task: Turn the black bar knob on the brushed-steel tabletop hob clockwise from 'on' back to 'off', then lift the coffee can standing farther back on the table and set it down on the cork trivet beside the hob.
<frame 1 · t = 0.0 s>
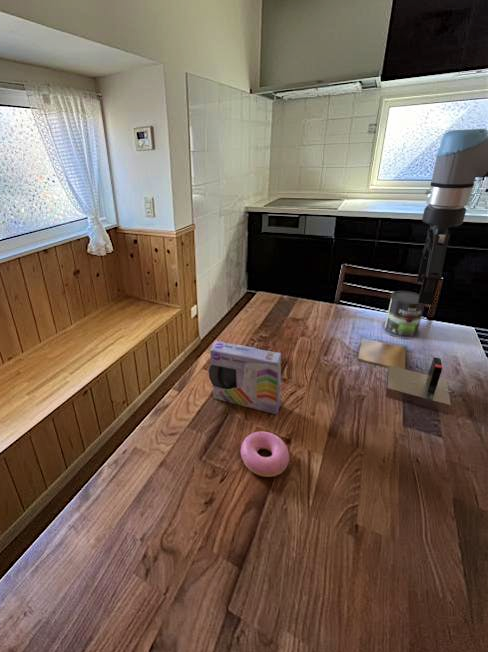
hand: (423, 292, 83), 30 cm above the table, tool pointing down, fingers open, 13 cm apart
doughnut: (264, 459, 78), on the table
trivet: (381, 354, 110), on the table
coffee can: (400, 332, 122), on the table
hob: (415, 392, 94), on the table
cake pan box: (244, 402, 95), on the table
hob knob: (434, 374, 90), point 7 cm above the table, hinge at 90.0°
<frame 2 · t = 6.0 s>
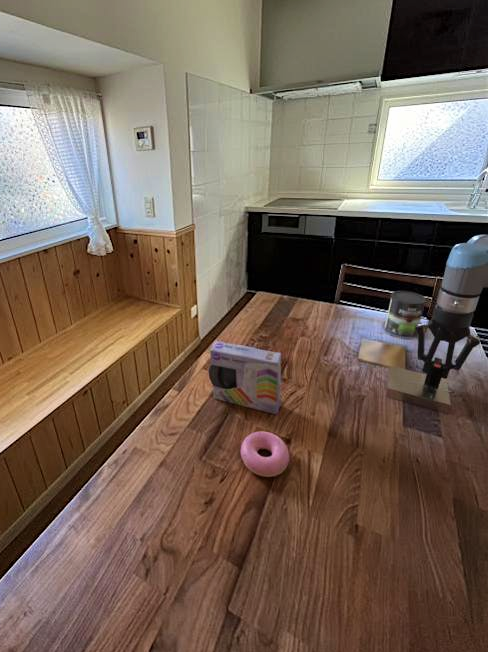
hand: (431, 384, 91), 4 cm above the table, tool pointing down, fingers closed on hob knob, 2 cm apart
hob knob: (434, 374, 90), point 7 cm above the table, hinge at 82.9°, touching gripper
everything else where it was.
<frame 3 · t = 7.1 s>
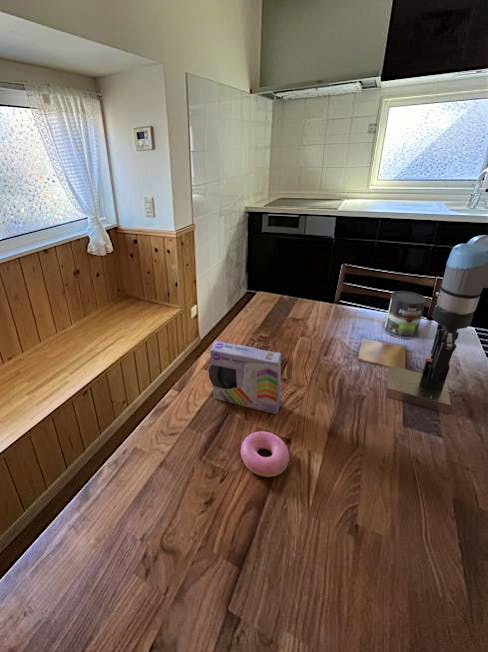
hand: (430, 384, 91), 4 cm above the table, tool pointing down, fingers closed
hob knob: (434, 374, 90), point 7 cm above the table, hinge at 0.1°
everything else where it was.
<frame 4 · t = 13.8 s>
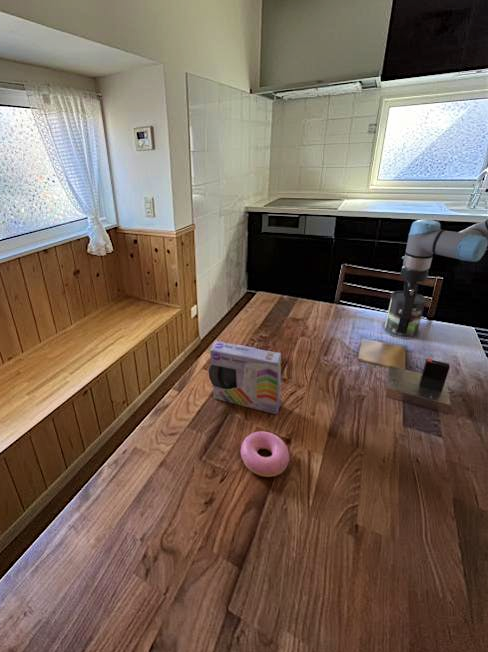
hand: (401, 325, 120), 3 cm above the table, tool pointing down, fingers closed on coffee can, 10 cm apart
coffee can: (400, 332, 122), on the table, touching gripper
everything else where it was.
when the fingers open (4 cm above the table, at t = 21.2 s): coffee can stays where it is, resting on trivet.
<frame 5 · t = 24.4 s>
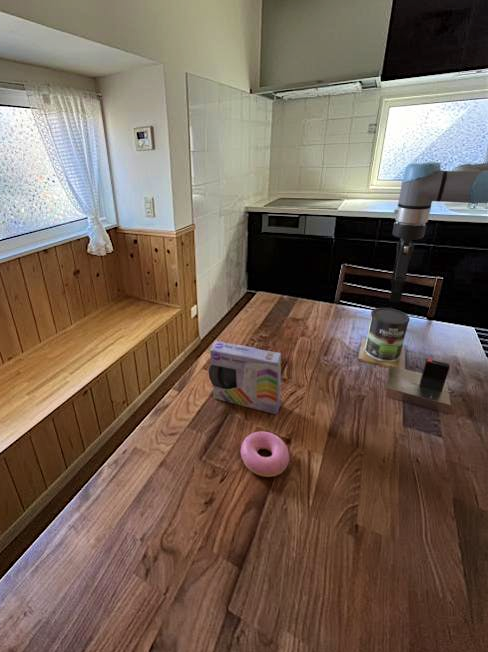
hand: (395, 292, 101), 23 cm above the table, tool pointing down, fingers open, 13 cm apart
coffee can: (381, 353, 110), point 1 cm above the table, touching trivet
everything else where it was.
at the end: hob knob at +0° (first picture: +90°); coffee can 0.1 cm off-centre on the trivet, point 0.6 cm above the trivet's base; coffee can tilted 0° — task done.
